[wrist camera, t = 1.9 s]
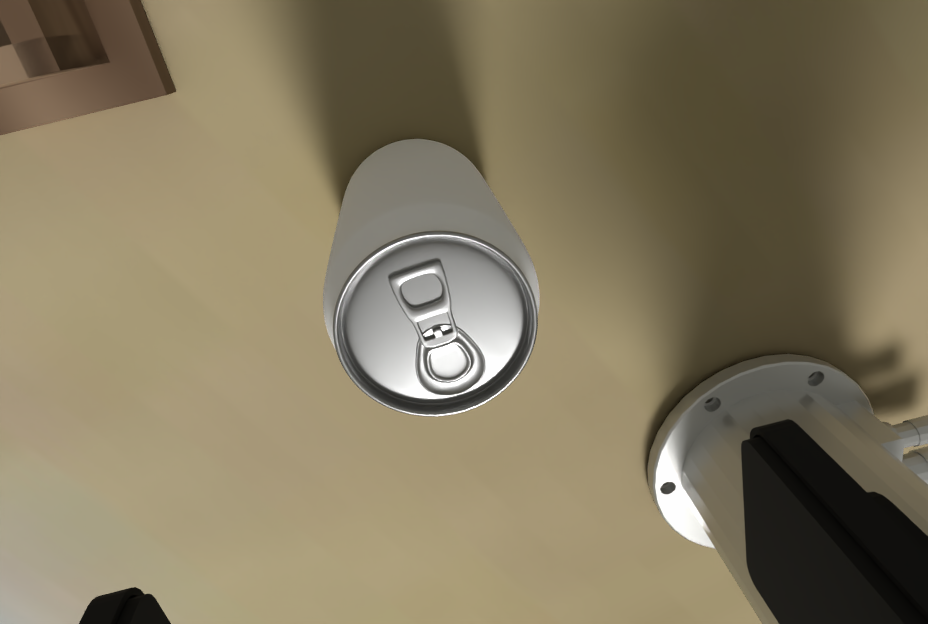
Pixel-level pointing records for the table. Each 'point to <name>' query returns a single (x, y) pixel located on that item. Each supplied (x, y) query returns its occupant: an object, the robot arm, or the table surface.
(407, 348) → the can
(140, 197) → the table surface
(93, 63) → the holder
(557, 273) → the table surface
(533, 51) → the table surface
